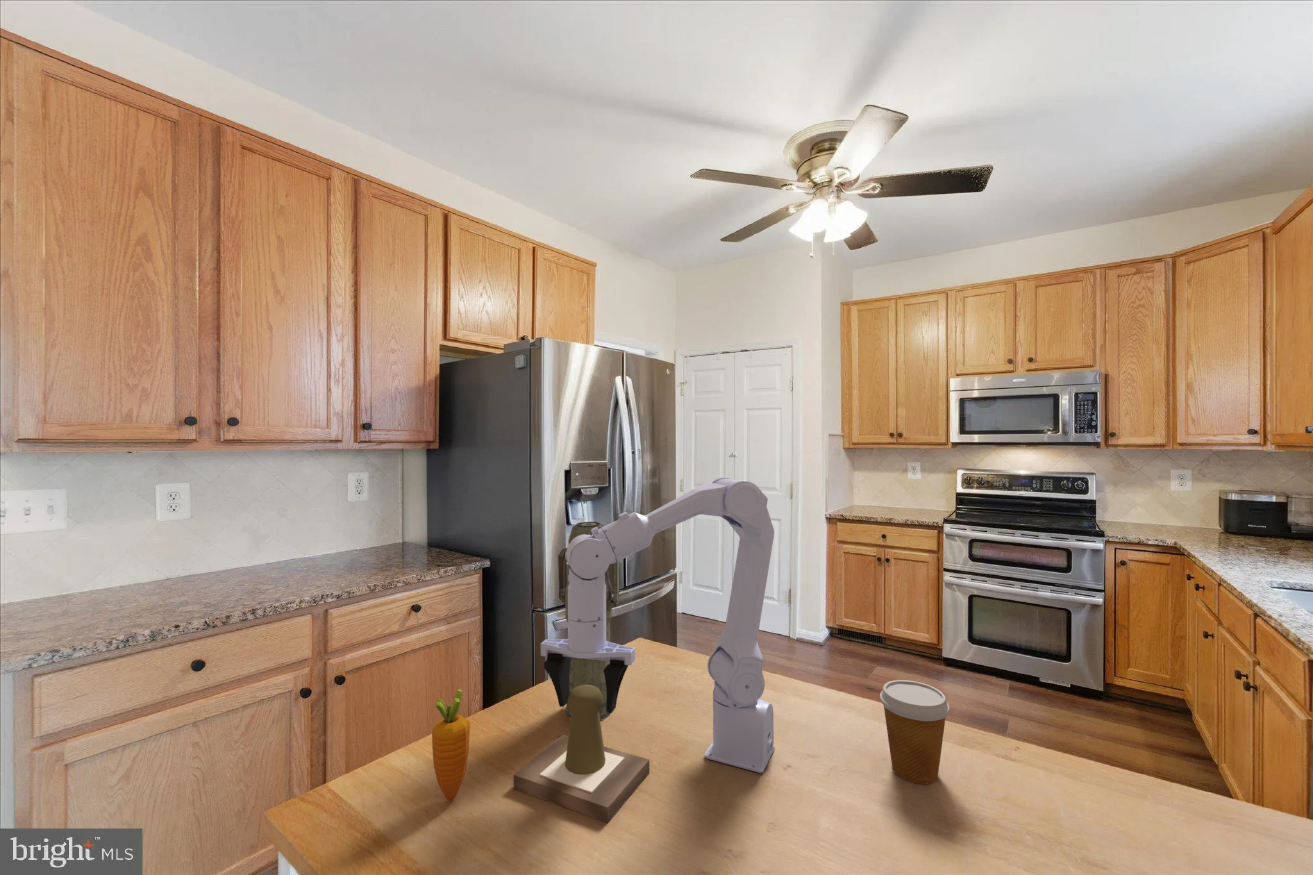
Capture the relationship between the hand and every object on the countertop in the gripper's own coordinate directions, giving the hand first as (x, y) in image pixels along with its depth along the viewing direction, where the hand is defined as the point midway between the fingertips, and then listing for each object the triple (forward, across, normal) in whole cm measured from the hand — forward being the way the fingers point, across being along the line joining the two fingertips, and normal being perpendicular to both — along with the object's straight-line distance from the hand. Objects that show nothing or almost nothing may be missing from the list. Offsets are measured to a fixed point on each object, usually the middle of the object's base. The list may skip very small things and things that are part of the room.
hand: (587, 706), depth 81 cm
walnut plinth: (+10, 0, +1) cm, 10 cm away
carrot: (+10, +16, +10) cm, 22 cm away
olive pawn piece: (+8, 0, 0) cm, 8 cm away
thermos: (+11, +8, -19) cm, 23 cm away
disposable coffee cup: (+11, -48, -14) cm, 51 cm away
